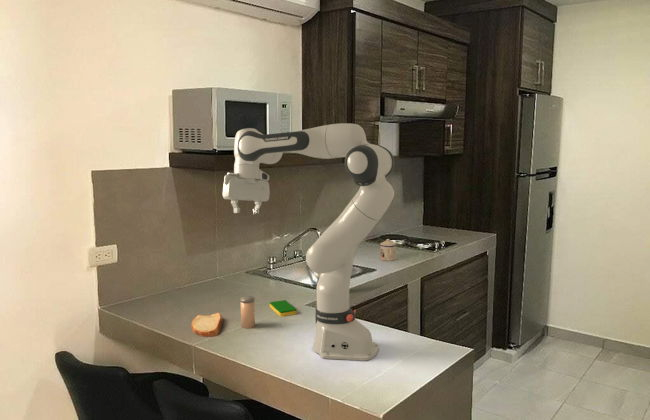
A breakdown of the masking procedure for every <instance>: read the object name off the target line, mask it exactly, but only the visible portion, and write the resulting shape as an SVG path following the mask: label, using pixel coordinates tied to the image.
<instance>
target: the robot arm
mask: <svg viewBox="0 0 650 420" xmlns="http://www.w3.org/2000/svg"><path fill="white" fill-rule="evenodd" d="M284 153H294V154H298V155H304V156H306V157H311V158H316V159H322V160H323V159H325V160H326V159H327V160H330V159H339V158H344V167H345V171H346V172H347V174H348V175H349V176H350V177H351V178H352V179H353V181H354V183H355V184H356V185H357V186H358V187H359V189H358V191H357V192H356V193H355V195H354V196H353V197H352V199H351V200H350V201H349V203H348V204H347V205H346V206H345V208H344V209H343V210H342V212H340V215H338V216H337V218H335V220H334V221H333V222H332V223H331V224H330V225H329V226H328V227H327V228H326V229H325V230H324V231H323V233H322V234H320V236H319V237H318V238H317V239H316V240H315V242H313V244H312V245H311V246H310V247H309V248H308V249H307V251H306V254H305V261H306V265H307V266H308V268H309V269H310V270H311V271H312V272H313V273H316V274H318V275H319V274H320V275H319V277H318V281H317V284H316V308H315V313H314V314H315V315H314V318H315V324H316V326H315V334H314V335H315V336H314V341H313V345H312V350H313V351H314V352H315V353H316V354H318V355H319V356H320V357H321V358H322V359H327V360H328V359H329V360H346V361H347V360H348V361H364V362H365V361H369V360H372V359H373V358H375V357H376V355H378V352H379V351H380V348H379V344H378V343H377V342H375V341H373V337H372V334H371V331H370V329H369V328H368V327H366V326H365V325H363V324H362V323H361V322H360V321H359V320H357V319H356V313H357V312H356V308H355V309H354V310H353V309H352V308H351V307H350V284H351V278H352V271H353V266H354V258H355V255H356V253H357V251H358V245H359V244H360V243H362V241H363V240H365V239H366V238H367V237H368V235H369V234H370V233H371V232H372V230H373V229H374V228H375V227H376V225H377V224H378V222H379V221H380V220H381V219H382V217H383V216H384V214H385V213H386V212H387V210H388V208H389V207H390V205H391V203H392V201H393V199H394V197H395V191H394V190H395V189H394V188H393V186H392V184H390V182H388V181H387V178H386V177H388V176H389V175H391V173H392V172H393V170H394V167H395V158H394V155H393V153H392V152H391V150H389V149H387V148H386V147H384V146H383V145H380V144H378V143H376V142H373V141H371V142H369V141H368V140H367V135H366V133H365V131H364V129H363V127H362V126H361V125H359V124H356V123H347V122H346V123H341V122H340V123H331V124H323V125H321V126H316V127H312V128H311V127H310V128H306V129H300V130H297V131H295V130H294V131H289V132H288V131H287V132H278V133H267V134H263V133H262V132H260V131H259V130H257V129H256V128H253V127H247V128H246V127H245V128H242V129H239V130H238V131H237V132H236V134H235V136H234V146H233V154H234V155H233V156H234V159H235V160H234V165H233V172H227V173H226V174H225V175H224V178H223V180H224V181H223V184H222V185H223V186H222V198H223V199H224V200H228V201H229V200H230V204H231V206H232V208H233V213H234V214H241V207H239V204H238V203H239V201H244V202H246V201H248V202H254V205H255V206H254V208H252V213H253V215H257V214H260V208H261V206H262V202H268V201H269V200H270V194H271V193H270V183H269V180H270V175H269V174H267V172H264V171H263V170H261V169H260V164H267V165H273V164H277V163H278V162H279V161H280V160H281V159H282V157H283V154H284Z"/></svg>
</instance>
